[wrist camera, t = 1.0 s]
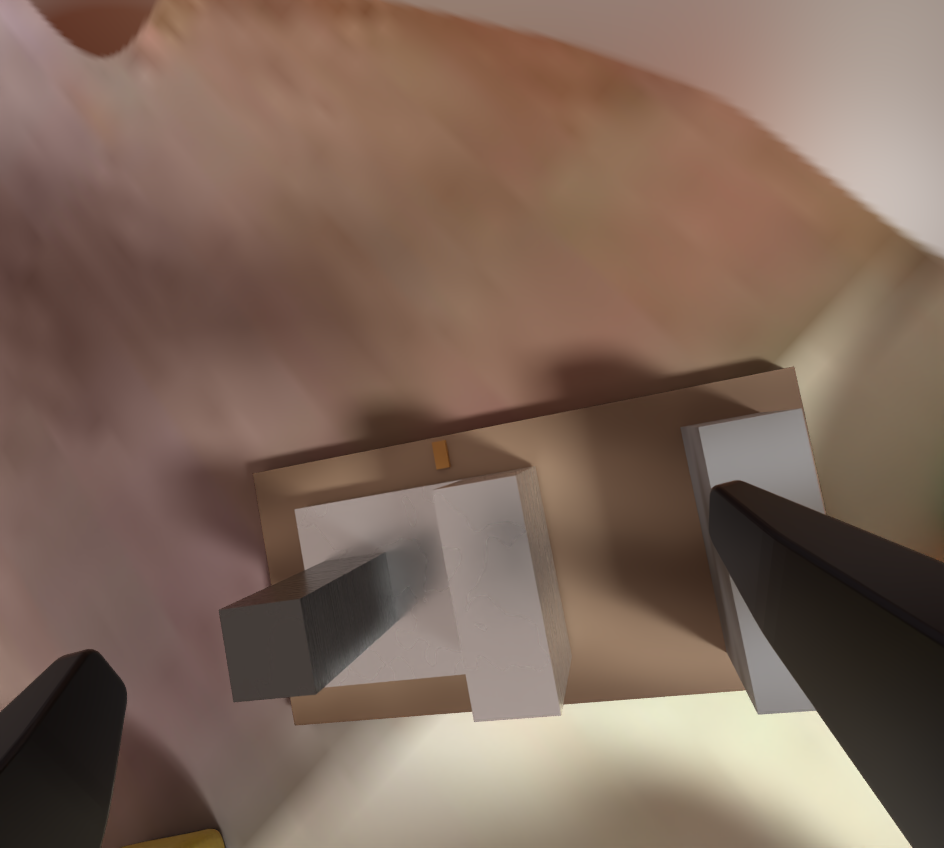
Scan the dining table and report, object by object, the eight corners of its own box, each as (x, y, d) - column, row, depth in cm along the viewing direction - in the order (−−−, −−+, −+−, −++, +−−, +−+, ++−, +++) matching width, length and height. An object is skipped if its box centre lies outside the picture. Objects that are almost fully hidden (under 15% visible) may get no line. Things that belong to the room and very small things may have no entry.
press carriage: (571, 656, 24) (552, 763, 16) (333, 679, 26) (219, 781, 19) (535, 466, 24) (499, 483, 17) (303, 506, 27) (181, 538, 19)
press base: (851, 670, 22) (936, 755, 16) (305, 715, 28) (224, 790, 22) (786, 369, 23) (845, 348, 17) (264, 472, 29) (175, 483, 23)
